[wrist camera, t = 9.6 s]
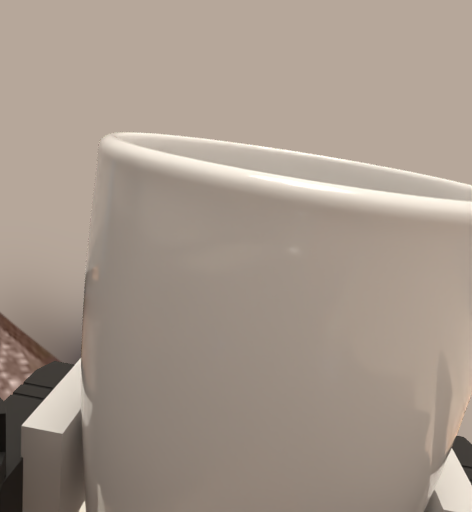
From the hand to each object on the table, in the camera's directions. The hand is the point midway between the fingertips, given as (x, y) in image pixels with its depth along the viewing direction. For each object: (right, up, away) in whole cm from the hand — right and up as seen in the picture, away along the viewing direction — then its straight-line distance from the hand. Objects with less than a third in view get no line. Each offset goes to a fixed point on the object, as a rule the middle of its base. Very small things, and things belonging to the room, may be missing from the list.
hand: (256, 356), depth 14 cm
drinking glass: (-2, -10, -2) cm, 10 cm away
